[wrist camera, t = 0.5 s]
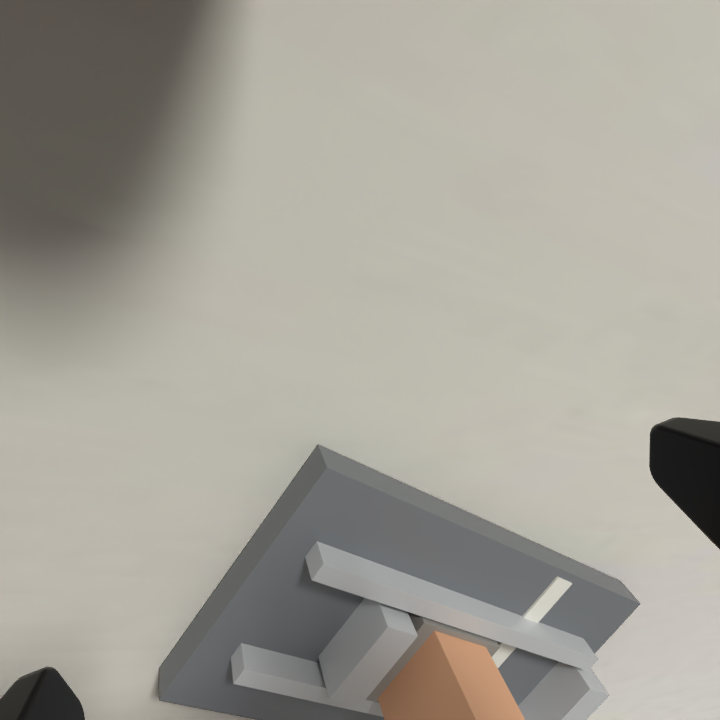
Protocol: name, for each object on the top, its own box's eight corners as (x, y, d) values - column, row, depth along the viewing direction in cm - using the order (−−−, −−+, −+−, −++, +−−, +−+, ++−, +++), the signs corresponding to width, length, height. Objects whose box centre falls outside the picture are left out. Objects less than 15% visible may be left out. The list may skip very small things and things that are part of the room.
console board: (159, 668, 26) (158, 749, 23) (318, 444, 23) (340, 502, 20) (479, 738, 34) (509, 804, 31) (621, 581, 32) (669, 636, 29)
